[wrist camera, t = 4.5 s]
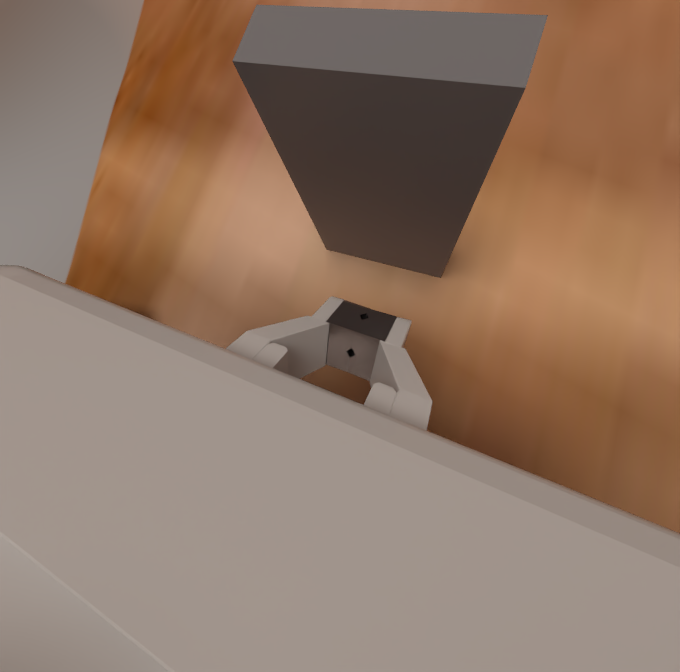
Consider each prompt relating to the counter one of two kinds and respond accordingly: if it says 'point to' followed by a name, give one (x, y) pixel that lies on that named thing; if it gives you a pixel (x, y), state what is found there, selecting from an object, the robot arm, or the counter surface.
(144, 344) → the robot arm
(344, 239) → the slate tile
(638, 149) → the counter surface
